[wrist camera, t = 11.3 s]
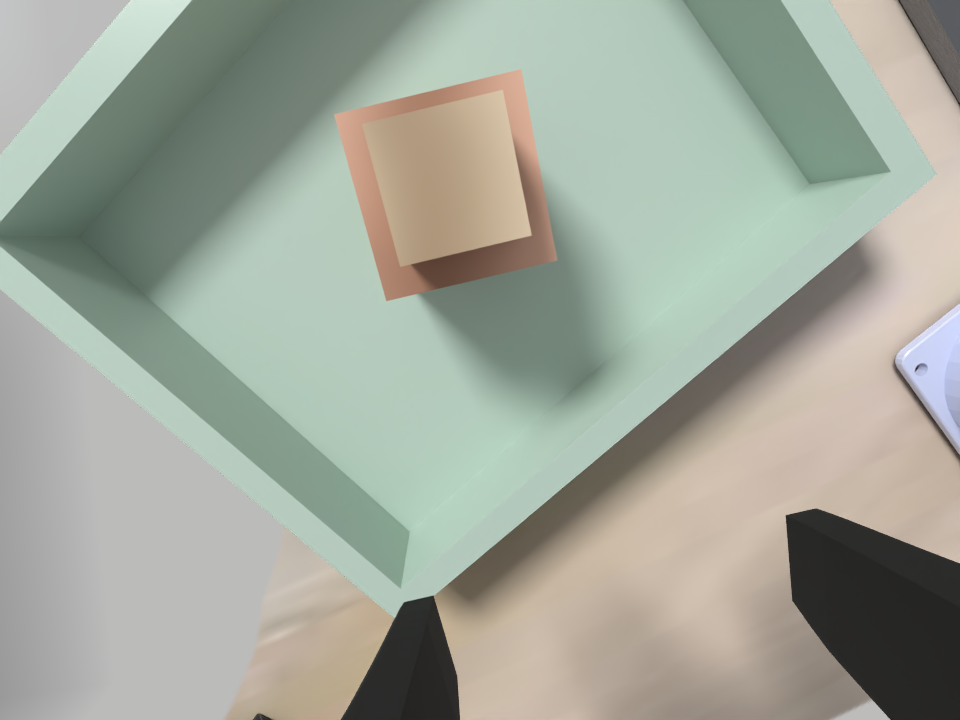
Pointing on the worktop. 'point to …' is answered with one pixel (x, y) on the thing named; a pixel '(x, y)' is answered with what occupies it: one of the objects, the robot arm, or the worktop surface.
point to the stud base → (939, 34)
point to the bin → (450, 310)
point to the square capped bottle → (449, 184)
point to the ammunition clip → (260, 717)
